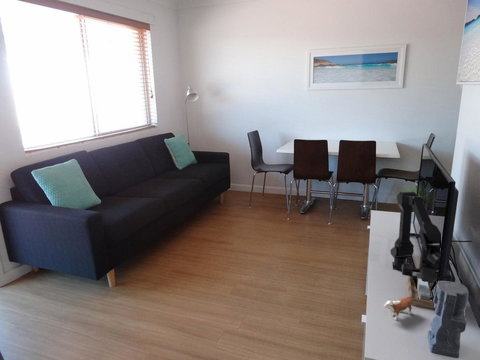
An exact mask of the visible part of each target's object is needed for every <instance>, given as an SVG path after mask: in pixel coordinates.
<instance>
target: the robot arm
mask: <svg viewBox="0 0 480 360" xmlns="http://www.w3.org/2000/svg"><path fill="white" fill-rule="evenodd" d="M396 200H397V205H398V207H399V209H400V218H399V231H398V238H397V239H396V240H395V241H394V246H393V247H392V248H391V249H390V250H389V251H390V255H391V256H392V257H393V261H392V264H391V265H392V269H393V270H396V271H397V270H398V271H401V275H403V276H406V277H411V278H413V280H414V283H415V287H416V289H417V278H418V274H420V277H421V278H420V279H421V280H422V281H423V282H430V283H431V288H430V291H431V292H432V290H433V289H434V287H435V286H436V281H437V272H438V271H439V270H438V267H439V262H440V257H441V254H440V248H441V234H442V232H441V231H440V228H439V227H438V226H437V225H435V224H434V223H433V222H432V220H431V217H430V215H429V213H428V210H427V208H426V206H425V203H424V197H423V196H421V194H418V193H416V192H415V191H400V192H399V193H398V194H397V195H396ZM413 212H414V215H415V218H416V220H417V223H418V225H419V230H418V231H419V232H418V234H419V240H420V242H419V243H420V245H421V249H420V250H421V252H420V255H419V256H420V257H419V258H420V259H419V267H418V268H417V267H413V264H410V263H407V261H408V259H411V258H412V257H413V255H414V250H415V249H414V247H415V246H414V244H413V242H412V240H411V231H412V230H411V229H412V228H411V226H412V225H411V224H412V215H413ZM449 266H450V260H449V261H448V262H447V266H446V269H445V270H448V271H447V281H453V275H452V273H451V270H449V269H448V268H449Z"/></svg>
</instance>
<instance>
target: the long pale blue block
mask: <svg viewBox="0 0 480 360" xmlns="http://www.w3.org/2000/svg"><path fill="white" fill-rule="evenodd" d="M417 288H418V294H419V299H421V300H427V301H430V298H431V296H430V291H429V286H428V282H423V281H422V280H421V278H418V285H417Z"/></svg>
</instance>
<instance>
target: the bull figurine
mask: <svg viewBox="0 0 480 360" xmlns="http://www.w3.org/2000/svg"><path fill="white" fill-rule="evenodd" d="M412 302H413V301H412V299H411V297H410V296H409V295H408V296H404V297H402V298H399V299H397V300H396V299H395V300H393V301H392V300H391V299H388V300H387V301H386V302H385V304H383V308H384V309H389V310H390V311H391V313H392V315H391V316H392V317H394V318H393V320H394V321H398V317H399V314H400V313H403V311H406V310H407V309H408V312H407V315H411V314H412V309H413V307H412V306H413V305H412Z"/></svg>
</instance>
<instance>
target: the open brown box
mask: <svg viewBox="0 0 480 360" xmlns="http://www.w3.org/2000/svg"><path fill="white" fill-rule="evenodd" d="M407 277H408V278H407V287H408V297H409V296H410V297H411V299H412V301H413V302H412V305H411V306H416V307H423V308H427V309H434V302H433V301H427V300H421V299H418V298H419V294H418V288H417V289H416V287H415V283H414V280H413V278H411V277H410V276H407ZM418 279H419V278H418V277H417V285H418ZM429 283H430V282H428V286H429ZM429 291H430V286H429ZM430 295H431V291H430ZM434 310H435V309H434Z"/></svg>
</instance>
